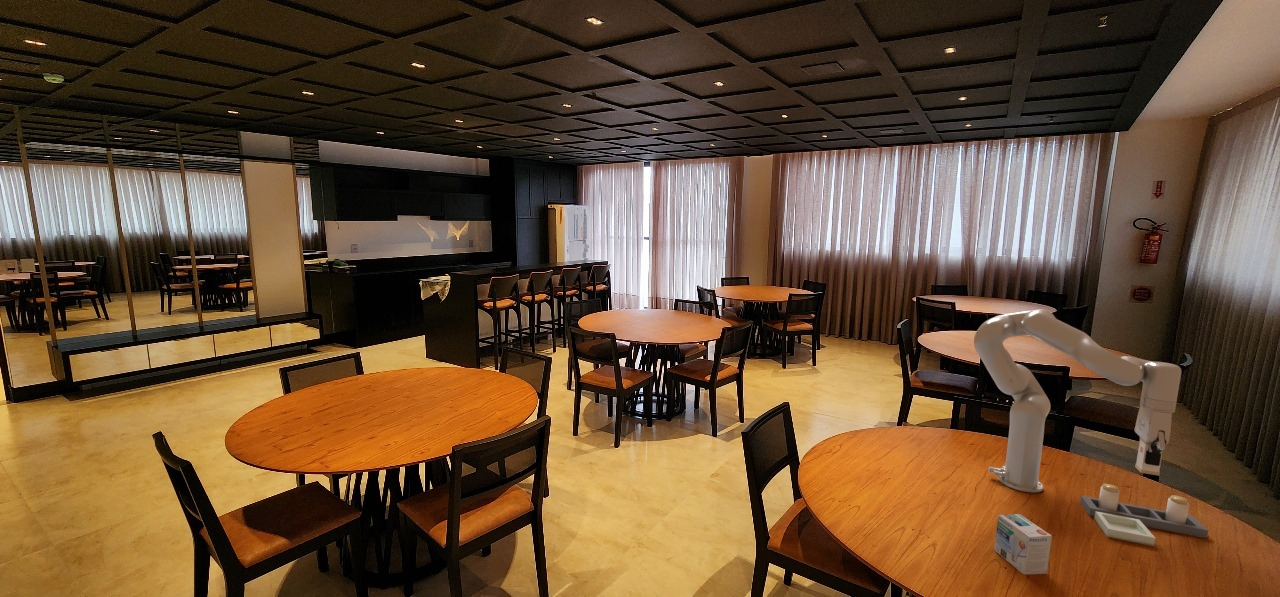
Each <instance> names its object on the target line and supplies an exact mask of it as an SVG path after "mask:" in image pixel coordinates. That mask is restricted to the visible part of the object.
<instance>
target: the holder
mask: <svg viewBox="0 0 1280 597" xmlns="http://www.w3.org/2000/svg"><path fill="white" fill-rule="evenodd" d="M1079 503H1080V505H1081V506H1082V508H1083V509H1084V511H1085V512H1086V513H1087V514H1088V516H1091V517H1095V511H1097V512H1102V513H1107V514H1113V515H1118V516H1123V517H1128V518H1134V519H1139V520H1140V521H1141V522H1142V523H1143V524H1144V525H1145V527H1146V528H1152V529H1157V530H1161V531H1167V532H1173V533H1179V534H1182V535H1188V536H1193V537H1198V538H1203V539H1208V534H1209V529H1208V528H1206V527H1205V525H1203V523H1201V522H1200V521H1199V520H1198V519H1197V518H1196V517H1195V516H1193V515H1191V514H1187V520H1186V524H1181V523H1175V522H1170V521H1165V515H1166V510H1162V509H1155V508H1150V507H1145V506H1139V505H1135V504H1129V503H1124V502H1119V501H1118V506H1117V511H1112V510H1106V509H1101V508H1098V503H1099V498H1096V497H1090V496H1086V495H1080V500H1079Z"/></svg>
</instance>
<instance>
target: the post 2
mask: <svg viewBox="0 0 1280 597" xmlns="http://www.w3.org/2000/svg"><path fill="white" fill-rule="evenodd" d="M1188 501H1189V500H1188V499H1187V498H1185V497H1183V496H1180V495H1175V494H1174V495H1170V496H1169V497H1168V499H1167V502H1166V503H1167V504H1166V510H1165V511H1166V515H1165V521H1170V522H1175V523H1181V524H1186V520H1187V515H1189V514H1188V513H1189V508H1190V503H1189V502H1188Z"/></svg>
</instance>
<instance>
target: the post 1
mask: <svg viewBox="0 0 1280 597" xmlns="http://www.w3.org/2000/svg"><path fill="white" fill-rule="evenodd" d="M1119 497H1120V490H1119V487H1118V486H1116V485H1114V484H1110V483H1103V484H1102V485H1101V486H1100V489H1099V497H1098V499H1099V503H1098V508H1101V509H1106V510H1112V511H1117V506H1118V502H1119V499H1120V498H1119ZM1117 512H1118V511H1117Z"/></svg>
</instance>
